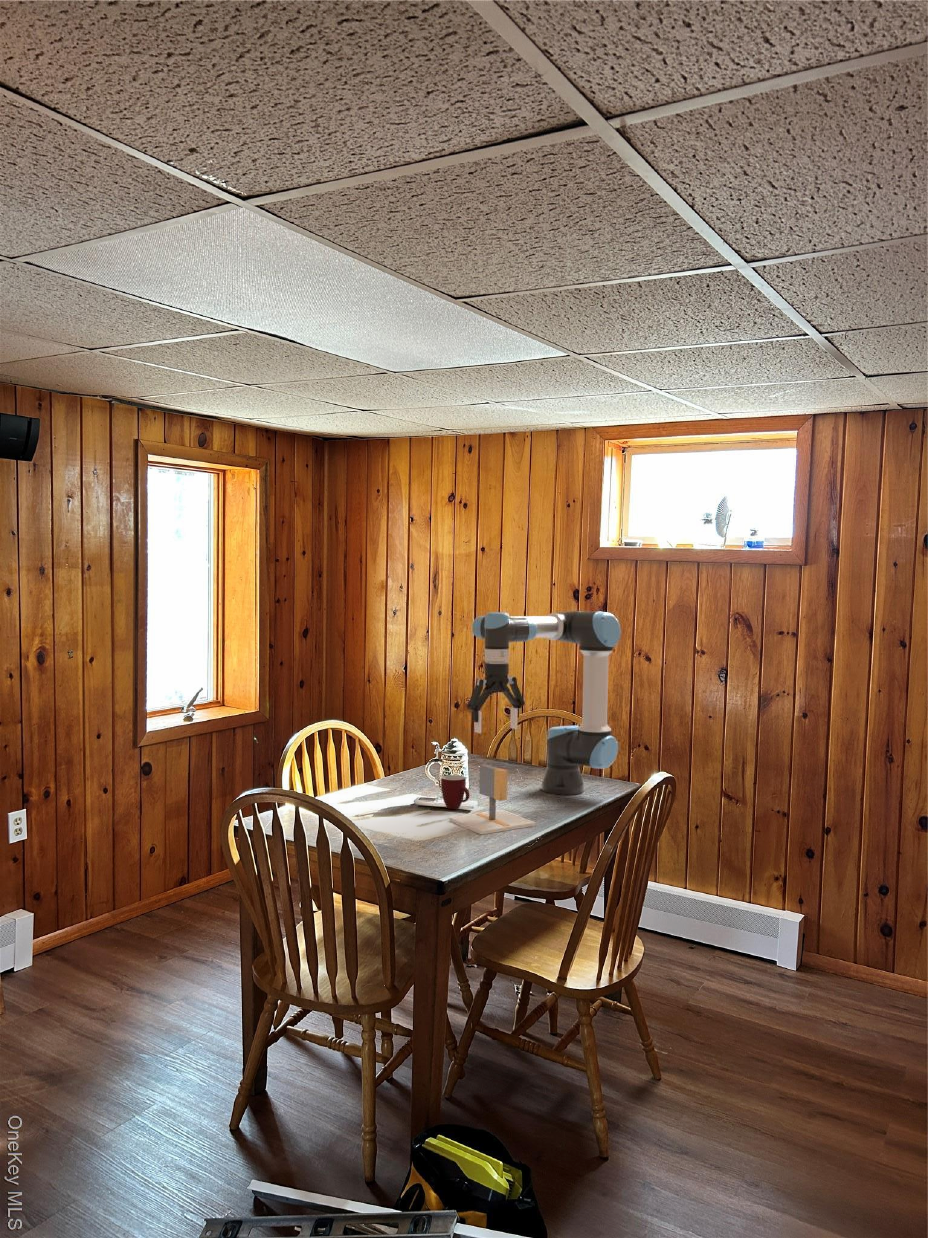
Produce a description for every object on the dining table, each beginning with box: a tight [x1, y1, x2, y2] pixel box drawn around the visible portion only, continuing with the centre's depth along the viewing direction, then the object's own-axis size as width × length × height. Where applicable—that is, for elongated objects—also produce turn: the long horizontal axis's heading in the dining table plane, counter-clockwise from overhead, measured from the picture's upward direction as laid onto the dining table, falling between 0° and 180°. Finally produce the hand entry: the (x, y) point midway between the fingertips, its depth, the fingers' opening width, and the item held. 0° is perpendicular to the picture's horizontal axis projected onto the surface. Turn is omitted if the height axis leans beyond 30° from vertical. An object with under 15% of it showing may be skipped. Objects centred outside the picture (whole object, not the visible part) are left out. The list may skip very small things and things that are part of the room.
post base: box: [449, 797, 537, 835], centre depth 282 cm, size 20×18×8 cm
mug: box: [440, 774, 470, 810], centre depth 300 cm, size 11×8×10 cm
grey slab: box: [478, 763, 508, 802], centre depth 282 cm, size 11×3×9 cm, turn 34°
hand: (496, 730), depth 283 cm, fingers open, 13 cm apart
